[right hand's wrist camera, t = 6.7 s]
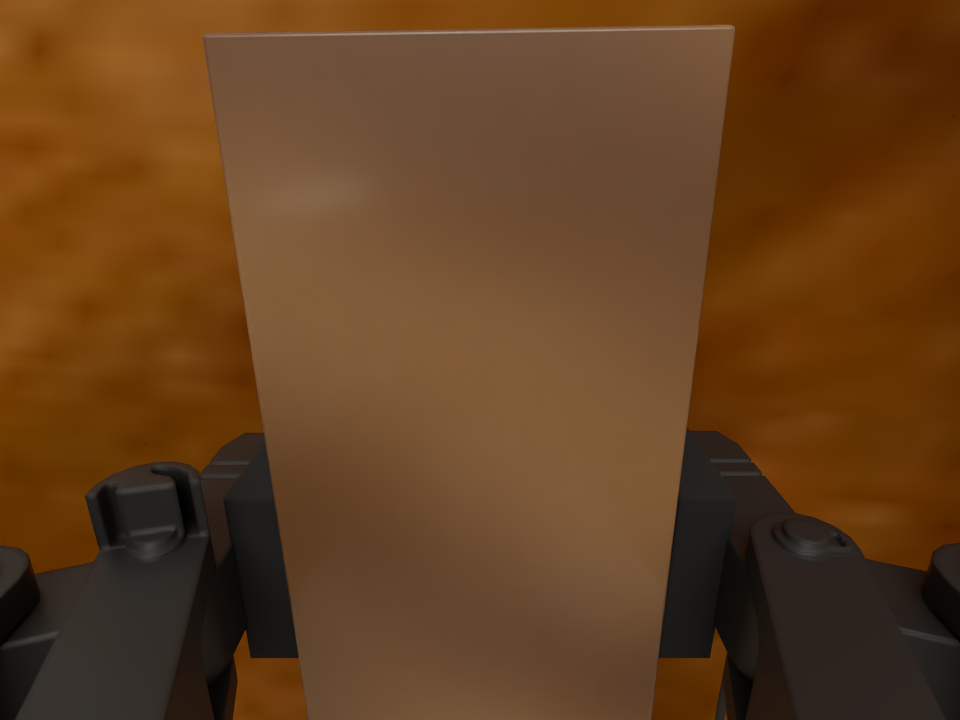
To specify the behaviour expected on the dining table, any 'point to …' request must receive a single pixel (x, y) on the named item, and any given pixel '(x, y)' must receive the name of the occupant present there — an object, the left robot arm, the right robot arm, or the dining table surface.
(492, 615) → the bar
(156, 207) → the dining table surface
